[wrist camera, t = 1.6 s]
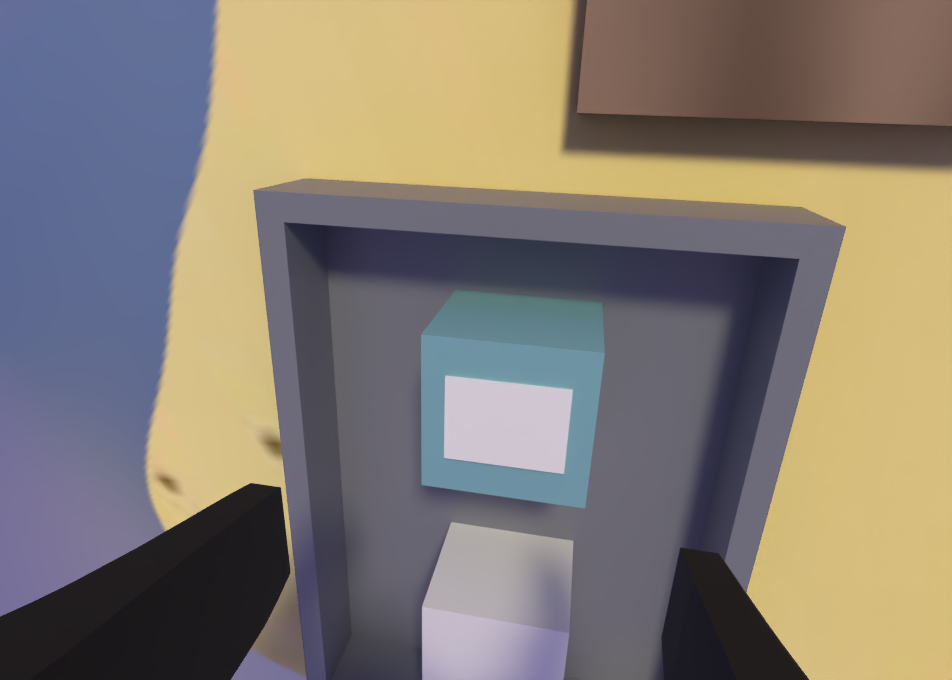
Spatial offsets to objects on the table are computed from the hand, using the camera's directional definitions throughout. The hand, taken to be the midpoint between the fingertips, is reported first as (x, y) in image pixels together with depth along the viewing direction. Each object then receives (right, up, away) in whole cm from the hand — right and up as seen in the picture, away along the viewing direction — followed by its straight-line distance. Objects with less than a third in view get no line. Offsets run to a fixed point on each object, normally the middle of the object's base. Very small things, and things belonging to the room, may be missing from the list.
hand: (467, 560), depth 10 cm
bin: (+2, -1, +10) cm, 10 cm away
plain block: (+1, -5, +12) cm, 13 cm away
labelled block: (+2, +3, +8) cm, 9 cm away
